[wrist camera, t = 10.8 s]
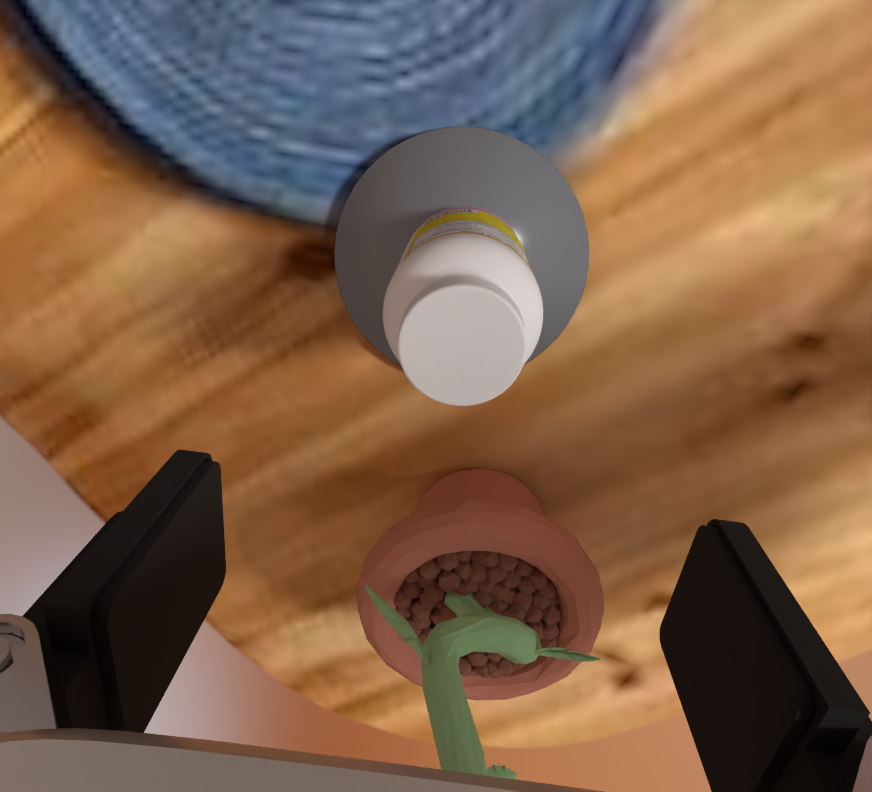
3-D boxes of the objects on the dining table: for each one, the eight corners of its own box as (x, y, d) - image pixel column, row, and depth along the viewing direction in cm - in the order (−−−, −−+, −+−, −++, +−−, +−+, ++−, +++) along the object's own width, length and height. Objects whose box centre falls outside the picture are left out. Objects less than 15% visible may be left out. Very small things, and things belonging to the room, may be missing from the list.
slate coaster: (613, 144, 30) (617, 145, 30) (558, 389, 36) (559, 395, 36) (343, 110, 30) (340, 109, 30) (332, 360, 37) (330, 365, 36)
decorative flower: (326, 517, 42) (61, 1259, 15) (448, 378, 37) (380, 1127, 10) (489, 620, 45) (515, 1376, 18) (621, 506, 40) (932, 1326, 13)
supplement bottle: (480, 344, 35) (484, 461, 23) (383, 284, 33) (335, 375, 22) (549, 247, 32) (593, 323, 20) (446, 177, 31) (430, 217, 19)
